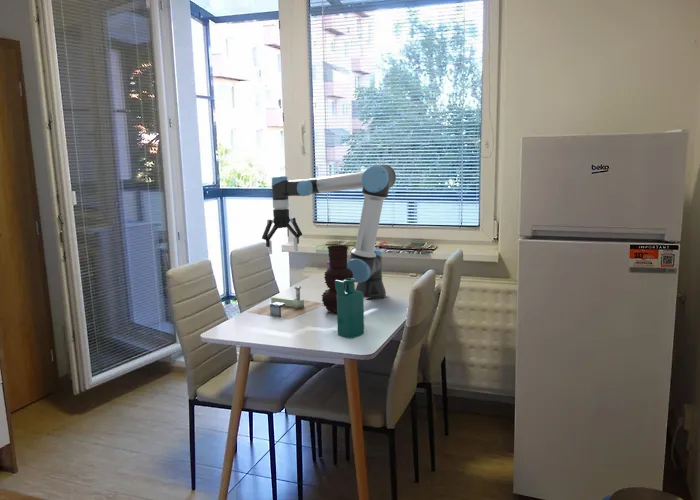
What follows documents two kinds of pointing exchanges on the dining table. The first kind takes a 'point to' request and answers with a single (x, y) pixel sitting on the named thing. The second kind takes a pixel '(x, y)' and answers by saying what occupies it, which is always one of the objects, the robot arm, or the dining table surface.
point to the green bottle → (349, 309)
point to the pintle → (297, 292)
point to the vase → (335, 275)
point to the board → (289, 309)
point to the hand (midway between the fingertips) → (283, 252)
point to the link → (288, 301)
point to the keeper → (276, 309)
